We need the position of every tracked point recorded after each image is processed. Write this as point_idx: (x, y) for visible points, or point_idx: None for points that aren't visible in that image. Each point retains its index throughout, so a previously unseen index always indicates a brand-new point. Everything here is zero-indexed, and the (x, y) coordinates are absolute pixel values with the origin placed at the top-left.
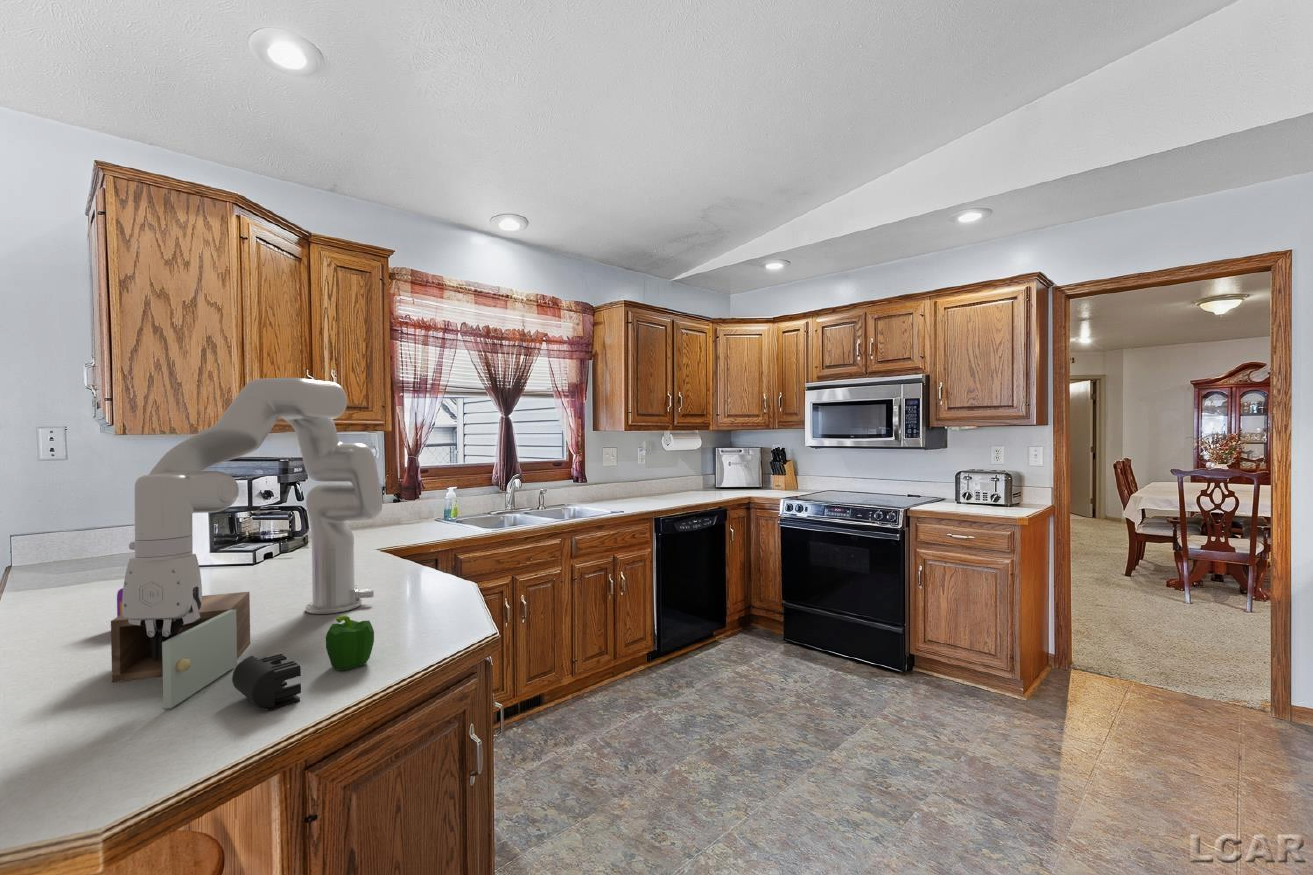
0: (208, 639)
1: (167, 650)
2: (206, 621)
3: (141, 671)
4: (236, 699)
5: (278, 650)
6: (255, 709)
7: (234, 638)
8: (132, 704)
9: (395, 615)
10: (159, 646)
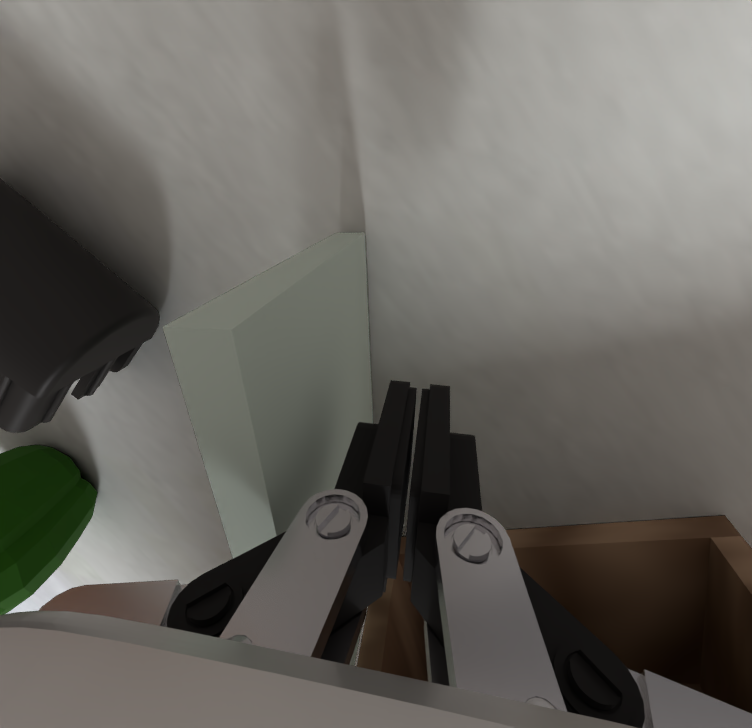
0: None
1: (227, 300)
2: None
3: (638, 543)
4: (183, 299)
5: None
6: (55, 205)
7: None
8: (530, 310)
9: None
10: (395, 431)
